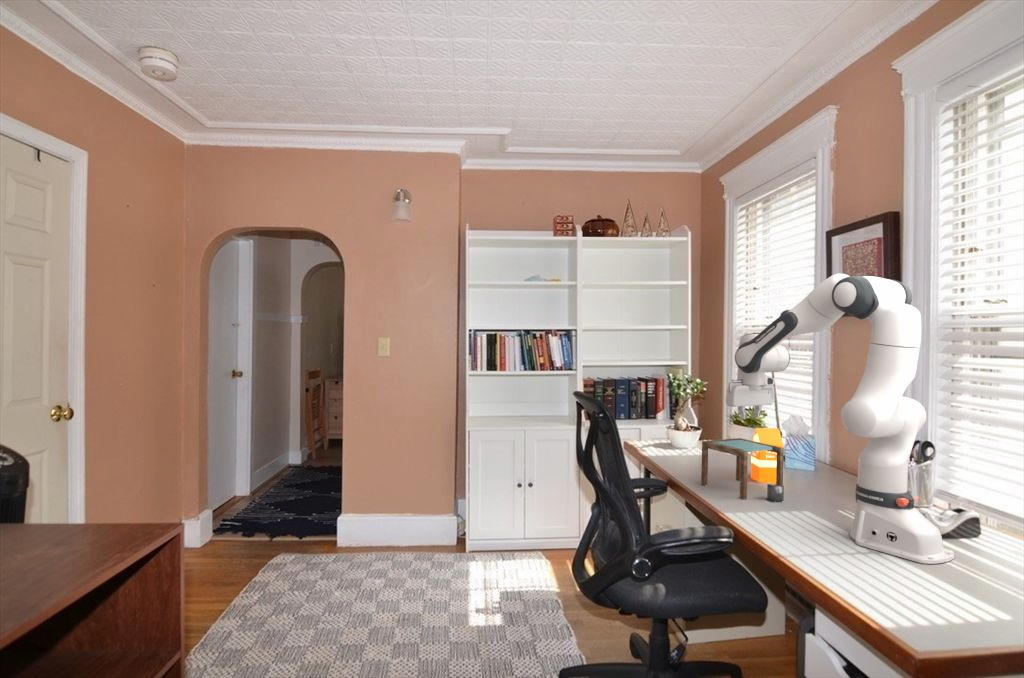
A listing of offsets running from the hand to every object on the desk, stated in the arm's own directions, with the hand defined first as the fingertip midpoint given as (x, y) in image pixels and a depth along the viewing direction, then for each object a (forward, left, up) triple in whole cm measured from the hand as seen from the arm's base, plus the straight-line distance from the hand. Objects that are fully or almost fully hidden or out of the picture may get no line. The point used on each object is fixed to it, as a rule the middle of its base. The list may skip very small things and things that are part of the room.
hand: (749, 418), depth 192 cm
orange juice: (+8, -19, -26) cm, 33 cm away
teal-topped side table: (+3, 0, -26) cm, 26 cm away
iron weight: (-11, 0, -26) cm, 28 cm away
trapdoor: (+3, 0, -11) cm, 11 cm away
